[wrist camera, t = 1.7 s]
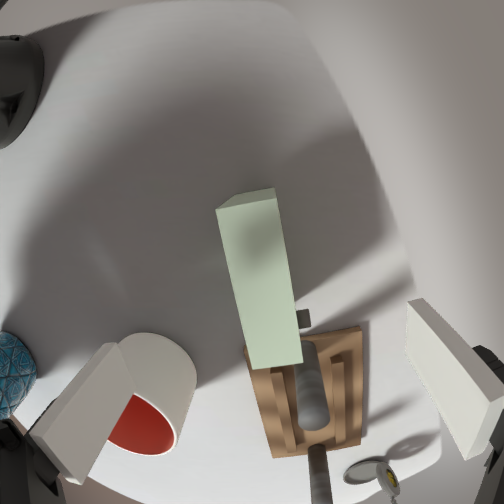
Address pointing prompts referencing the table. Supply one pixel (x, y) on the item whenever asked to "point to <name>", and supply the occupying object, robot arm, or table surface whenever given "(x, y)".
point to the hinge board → (351, 394)
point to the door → (261, 278)
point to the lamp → (14, 373)
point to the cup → (154, 394)
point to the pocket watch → (374, 476)
